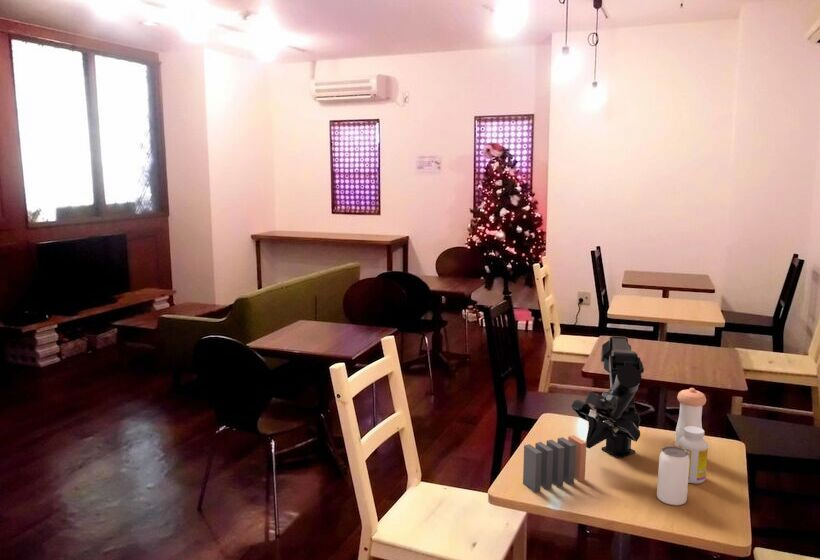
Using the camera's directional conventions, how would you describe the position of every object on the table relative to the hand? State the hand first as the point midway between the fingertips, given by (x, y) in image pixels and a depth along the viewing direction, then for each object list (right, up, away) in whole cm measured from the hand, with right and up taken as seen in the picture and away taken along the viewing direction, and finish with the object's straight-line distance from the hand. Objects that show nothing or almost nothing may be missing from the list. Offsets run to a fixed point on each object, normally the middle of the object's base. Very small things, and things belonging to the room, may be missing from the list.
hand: (587, 447), depth 163 cm
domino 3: (-9, -8, -3) cm, 12 cm away
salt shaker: (+30, -5, +11) cm, 32 cm away
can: (+17, -9, -11) cm, 22 cm away
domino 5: (-3, -7, 0) cm, 8 cm away
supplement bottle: (+25, -8, -1) cm, 27 cm away
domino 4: (-6, -8, -2) cm, 10 cm away
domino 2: (-12, -8, -4) cm, 15 cm away
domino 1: (-15, -8, -6) cm, 18 cm away
